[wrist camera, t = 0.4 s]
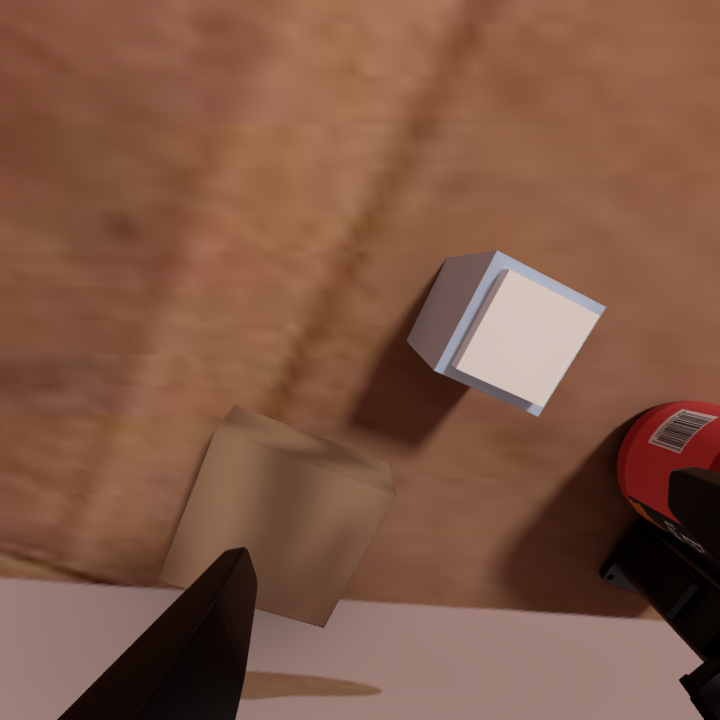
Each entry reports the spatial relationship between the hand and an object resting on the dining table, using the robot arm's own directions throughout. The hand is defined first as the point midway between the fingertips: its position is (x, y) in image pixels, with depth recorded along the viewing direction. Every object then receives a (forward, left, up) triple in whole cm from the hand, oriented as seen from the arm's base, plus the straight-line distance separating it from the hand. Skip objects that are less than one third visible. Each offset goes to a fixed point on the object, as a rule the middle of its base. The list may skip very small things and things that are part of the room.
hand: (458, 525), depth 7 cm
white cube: (-3, -4, -13) cm, 14 cm away
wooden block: (+2, +11, -13) cm, 17 cm away
